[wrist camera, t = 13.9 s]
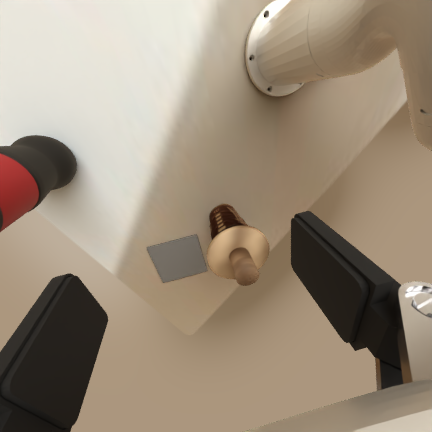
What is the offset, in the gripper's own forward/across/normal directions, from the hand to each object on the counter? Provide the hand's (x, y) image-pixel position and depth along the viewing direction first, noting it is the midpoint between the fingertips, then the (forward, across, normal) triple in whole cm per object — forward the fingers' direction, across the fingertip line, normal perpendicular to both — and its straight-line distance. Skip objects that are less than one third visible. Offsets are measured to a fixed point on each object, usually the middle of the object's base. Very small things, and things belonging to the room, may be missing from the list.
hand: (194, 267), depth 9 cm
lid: (+20, -5, +18) cm, 28 cm away
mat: (+33, +8, +27) cm, 44 cm away
